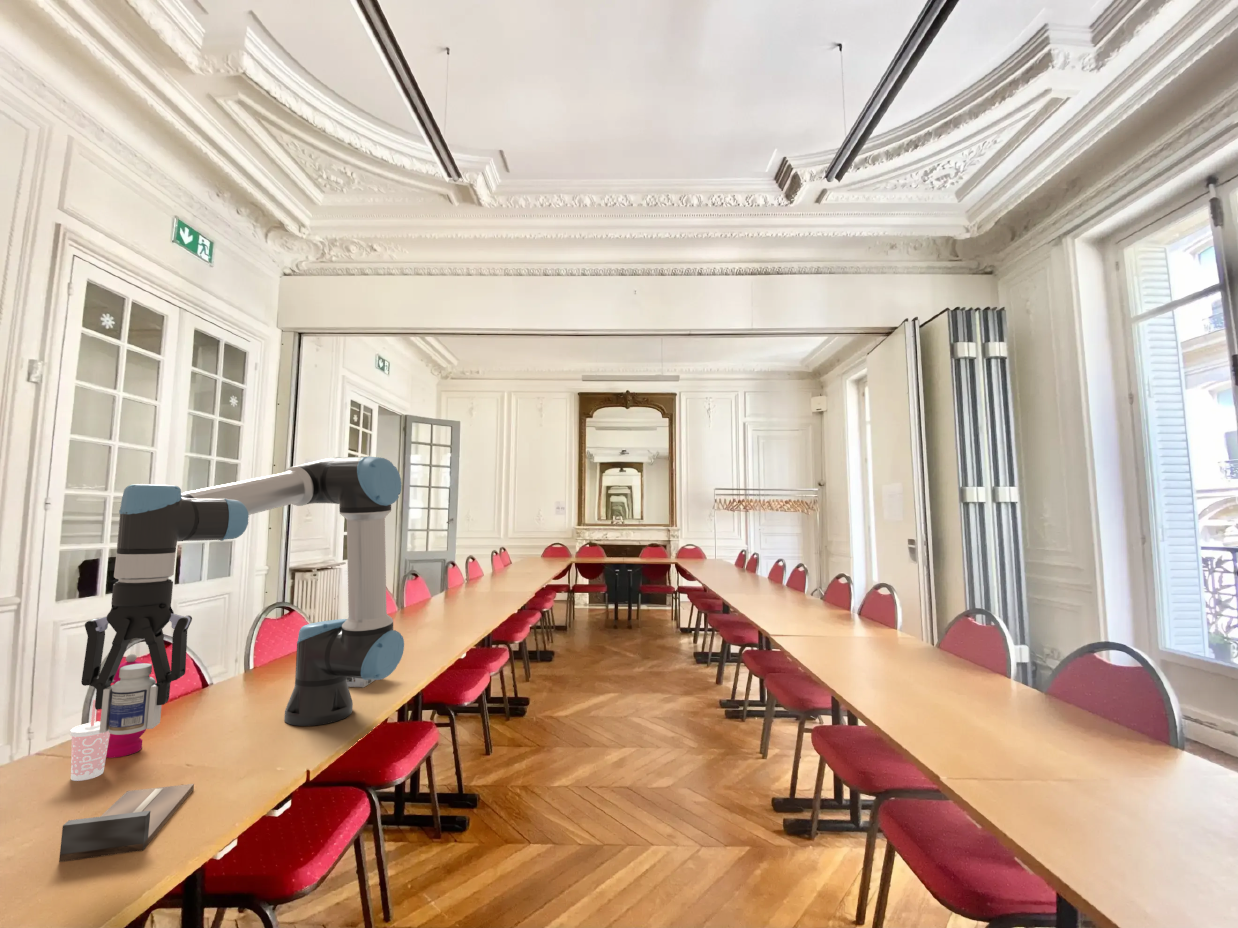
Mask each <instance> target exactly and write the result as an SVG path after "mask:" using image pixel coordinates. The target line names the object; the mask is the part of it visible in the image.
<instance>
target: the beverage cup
mask: <svg viewBox="0 0 1238 928" xmlns="http://www.w3.org/2000/svg"><path fill="white" fill-rule="evenodd" d="M95 700H96V698H94V699H93V700H92V708H91V719H90V722H87V723H83V724H78V725H76V726H73V727H72V728H71V729H70V730H69V735H70V736H71V747H70V750H71V751H70V752H71V756H70V758H71V759H70V760H71V761H70V780H71V781H75V782H77V781H78V782H79V781H80V782H81V781H87V780H92V779H94V778H96V777H100V776H101V775H103V774H104V770H105V765H106V758H107V757H106V754H107V748H108V742H109V736H110V733H109V732H108V731H107V732H105V733H99V731H100V721H101V720H100V721H98V720H97V721H95V718H96V708H95Z"/></svg>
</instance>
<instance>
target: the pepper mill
mask: <svg viewBox="0 0 1238 928" xmlns="http://www.w3.org/2000/svg"><path fill="white" fill-rule="evenodd" d="M137 658H138V657H137V655H136V654H135V653H130V654H128V655H127V656H125V661H124V662H121V663H120V665H119V667H118V670H117V672H116V675H115V677H114V679H113V681H114V680H115V681H114V682H113V683H112V684H113V685H114V684H115V683H116V682H118V681H120V680H121V678H119V672H120V668H121V667H124V666H127V665H132V664H141V663H144V662H142V661H139V660H137ZM146 731H147V729H145V730H142V731H139V732H135V733H131V734H122V735H115V734H110V736H109V742H108V748H107V754H106V758H109V759H113V758H121V757H125V756H129V755H133V754H135V753H137V752H139V751H140V750H142V748H143V739H142V738H141V737H142V736H143V735H144V734H145V732H146Z"/></svg>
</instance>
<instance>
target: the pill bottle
mask: <svg viewBox="0 0 1238 928" xmlns="http://www.w3.org/2000/svg"><path fill="white" fill-rule="evenodd" d="M152 670H153V664H152V663H146V662H145V663H144V662H143V663H141V664H132V665H127V666H124V667H121V668H120V672H119V678H121V680H120V681H118V682H116V683H115V684H114V683H113V684H112V685H113V687H112V694H111V705H110V716H109V728H108V732H109V733H110V734H115V735H122V734H131V733H135V732H139V731H142V730H145V729H146V730H148V729H147V722H148V711H149V700H150V689H151V686H153V685H154V684H156V683H157V681H156V678H154V677H152V676H150V675H151V674H152V673H153V672H152Z"/></svg>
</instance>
